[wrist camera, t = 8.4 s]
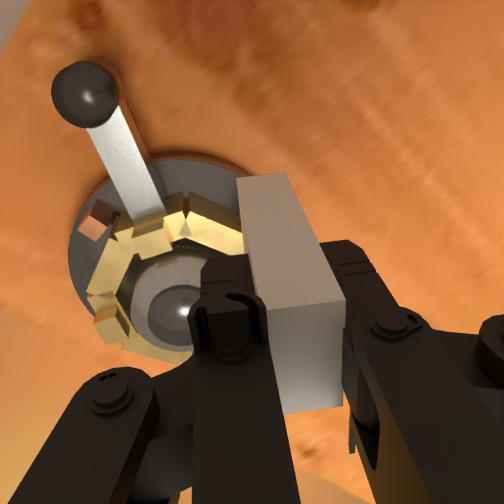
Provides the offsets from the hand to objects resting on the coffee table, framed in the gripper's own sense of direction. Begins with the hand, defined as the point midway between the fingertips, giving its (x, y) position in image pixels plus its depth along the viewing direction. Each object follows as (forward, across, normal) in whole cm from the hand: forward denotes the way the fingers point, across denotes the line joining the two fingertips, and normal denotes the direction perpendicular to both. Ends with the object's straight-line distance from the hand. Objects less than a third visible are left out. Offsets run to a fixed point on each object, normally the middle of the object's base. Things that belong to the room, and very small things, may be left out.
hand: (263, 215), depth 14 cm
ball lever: (+13, -5, -5) cm, 15 cm away
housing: (+15, -5, -10) cm, 18 cm away
